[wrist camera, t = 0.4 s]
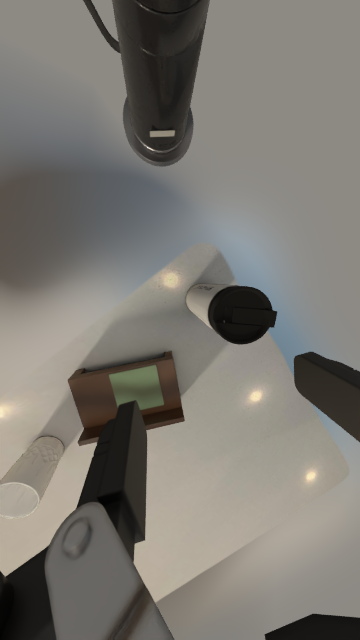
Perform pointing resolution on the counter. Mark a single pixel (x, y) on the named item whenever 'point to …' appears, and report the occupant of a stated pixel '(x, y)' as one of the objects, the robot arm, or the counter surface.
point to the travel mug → (232, 311)
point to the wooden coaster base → (127, 394)
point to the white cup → (29, 478)
